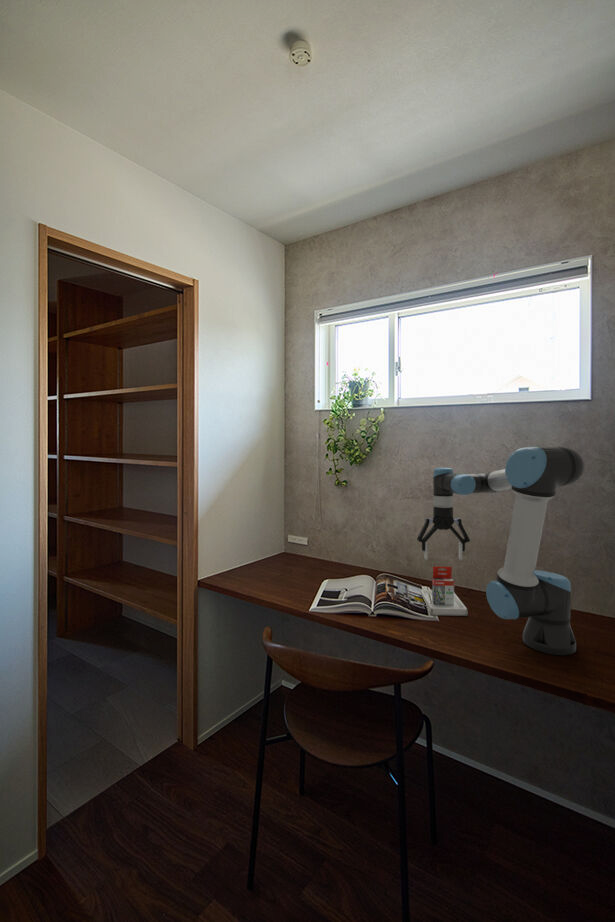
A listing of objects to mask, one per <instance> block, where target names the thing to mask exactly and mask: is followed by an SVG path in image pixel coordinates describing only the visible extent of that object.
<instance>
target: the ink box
mask: <svg viewBox="0 0 615 922" xmlns="http://www.w3.org/2000/svg"><path fill="white" fill-rule="evenodd" d="M452 571H453V569H452V566H432V588H431V590H432V602H433V603H434V605H454V593H455V581H454V579H453V577H452V574H453V573H452Z"/></svg>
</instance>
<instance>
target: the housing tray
mask: <svg viewBox="0 0 615 922" xmlns="http://www.w3.org/2000/svg"><path fill="white" fill-rule="evenodd" d="M420 593H421V595H422V597H423V599H424V601H425V603H426V605H427V607H428V609H429V611H428V612H430V613H429V615H430V616H454V617H460V616H462V617H463V616H464V617H467V616H468V613H469V612H468V608H467V607H466V605H465V604H464V603H463V602H462V600H461V599H460V598H459V597H458V596H457V594H456V593H455V592H454V605H434V603H433V602H432V604H430V603H429V601H428V599H427V597H426V596H425V594H424V593H427V594H431V599H432V589H420V590H419V594H420ZM425 603H424V604H425ZM426 605H425V606H426ZM427 607H426V608H427ZM428 609H427V610H428Z"/></svg>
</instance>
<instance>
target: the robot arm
mask: <svg viewBox="0 0 615 922" xmlns="http://www.w3.org/2000/svg"><path fill="white" fill-rule="evenodd" d="M585 468H586V465H585V462H584V459H583V457H582V456H581V454H579V452H578V451H576V450H575V449H573V448H570V447H564V446H555V447H554V446H528V447H521V448H518V449H516V450H515V451H514V452H512V453H511V454H510V456H509V457H508V459H507V461H506V464H505V468H504V469H500V470H499V469H498V470H494V471H490V472H484V473H454V470H453V468H452V467H435V468H434V469H433V476H432V479H433V481H432V483H433V486H432V487H433V489H432V490H433V514H432V516H433V517H432V518H428V517H425V519H424V524H423V525H422V528H421V530H420V532H419V534H418V536H417V538H416V540H417V541H418V542H419V543H421V550H422V552H424V553H423V555H424V560H426V561H428V560H429V559H428V557H429V555H428V554H429V553H428V545H429V544H428V542H427V541H428V540H429V539H430V538H431V537H432V536H433V535H434V533H435V532H437V531H438V530H441V531H443V530H445V531H448V530H450V531H451V532H452V533H453V534H454V536H455V537H457V539H458V540H459V541H460V542H458V559H459V560H460V561H463V552H465V551H466V543H469V542H471V539H470V538H469V535H468V534H467V532H466V530H465V528H464V526H463V524H462V523H463V522H462V519H461V518H459V517H456V518H454V507H453V506H454V494H455V495H460V496H462V495H464V496H465V495H471V494H488V493H489V494H495V493H496V494H497V493H500V492H502V491H505V490H511V491H512V493H513V494H514V495H515V498H514V503H513V504H514V505H513V509H512V515H511V522H510V528H509V534H508V540H507V546H506V552H505V558H504V564H503V567H501V568H499V569H498V570H497V574H496V579H495V580H491V581H490V582H488V584H487V585H486V589H485V590H486V591H485V593H486V599H487V603H488V604H489V607H490V609H491V610H492V611H493V613H495V615H496V616H498V617H499V618H500V619H503V620H517V619H522V618H528V619H527V621H526V624H525V625H524V629H523V631H522V641H523V643H524V645H526V646H528V647H529V648H531V649H532V650H535V651H537V652H540V653H544V654H548V655H555V656H569V655H573V654H574V653H576V652H577V641H576V638H575V635H574V632H573V629H572V627H571V607H572V605H571V604H572V602H571V601H572V599H571V598H572V588H571V587H572V586H571V585H572V584H571V581H570V579H569V578H567V577H566V576H564V575H562V574H558V573H555V572H552V571H551V572H550V571H545V570H539V569H538V570H537V569H536V568H537V562H538V556H539V551H540V546H541V545H540V544H541V540H542V536H543V535H542V533H543V530H544V525H545V518H546V513H547V507H548V502H549V500H552V499H553V498H555V496H556V494H557V491H556V490H557V487H567V486H570V485H573V484H575V483H577V482H578V481H579V480H580V479H581V478H583V476H584V473H585ZM431 523H433V526H432V527H431V528H430V530H429V531H428V532H427V533H426V531H427V530H428V528H429V526H430V525H431ZM454 523H455V525H457V527H458V529H459V531H460V532H461V535H462V536H461V535H460V533H459V532H458V531H457V530H456V529H455V528H454V526H453V524H454Z"/></svg>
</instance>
